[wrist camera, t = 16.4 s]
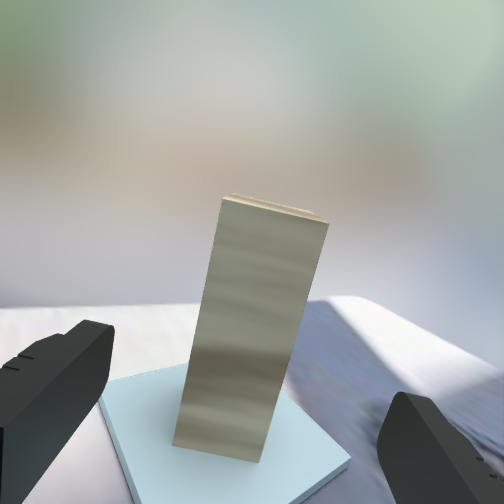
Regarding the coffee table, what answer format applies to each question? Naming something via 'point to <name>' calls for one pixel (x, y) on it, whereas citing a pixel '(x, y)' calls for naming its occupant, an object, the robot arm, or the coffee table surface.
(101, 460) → the coffee table surface
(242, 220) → the maple peg
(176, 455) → the pale blue plate
